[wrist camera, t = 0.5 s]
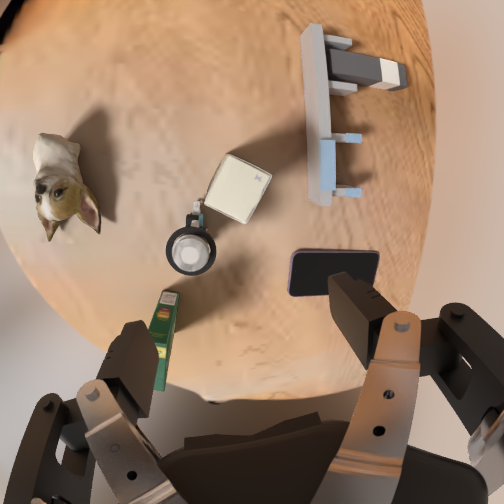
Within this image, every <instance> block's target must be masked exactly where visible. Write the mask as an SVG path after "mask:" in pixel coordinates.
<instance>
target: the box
mask: <svg viewBox="0 0 504 504" xmlns="http://www.w3.org/2000/svg"><path fill="white" fill-rule="evenodd" d="M271 178H272V175H271V174H270V173H268V172H266V171H264V170H262V169H261V168H259V167H257V166H255V165H253V164H251V163H249V162H247V161H244V160H242V159H240V158H238V157H236V156H233V155H231V154H228V153H226V154H225V155H224V157H223V159H222V160H221V162H220V164H219V166H218V168H217V169H216V171H215V173H214V175H213V178H212V180H211V182H210V184H209V187H208V190H207V195H206V200H205V202H204V204H205V205H207V206H209V207H211V208H213V209H214V210H216V211H218V212H220V213H222V214H224V215H226V216H228V217H230V218H232V219H234V220H236V221H239V222H241V223H243V224H246V223H247V222H248V221H249V219H250V217H251V216H252V214H253V212H254V210H255V208H256V207H257V205H258V203H259V201H260V199H261V198H262V196H263V194H264V192H265V190H266V188H267V186H268V184H269V182H270V180H271Z"/></svg>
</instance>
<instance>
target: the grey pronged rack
mask: <svg viewBox="0 0 504 504" xmlns="http://www.w3.org/2000/svg"><path fill="white" fill-rule="evenodd" d="M300 45H301V56H302V68H303V81H304V96H305V113H306V135H307V168H308V200H310V201H312V202H314V203H316V204H318V205H319V206H332V196H346V197H348V198H350V197H362V188H357V187H354V186H350V185H336V152H335V143H362V134H354V133H346V134H338V133H331V118H330V101H329V95H338V96H346V95H349V94H352V93H354V92H357V84H352V83H345V82H337V81H329V80H328V75H327V64H326V54H325V51H328V50H330V49H336V50H342V51H345V50H346V49H347V48H349V47H350V46H352V40H351V39H349V38H344V37H338V36H332V35H326V34H323V29H322V25H320V24H313V23H310V24H309V26H308V27H307V28H306V29H305V31H304V32H303V33H302V34H301V36H300Z"/></svg>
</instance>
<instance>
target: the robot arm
mask: <svg viewBox="0 0 504 504" xmlns="http://www.w3.org/2000/svg"><path fill="white" fill-rule="evenodd" d="M328 290H329V302H330V310H331V314H332V317H333V320H334V321H335V323H336V324H337V326H338V327H339V329H340V331H341V332H342V334H343V335H344V337H345V338H346V340H347V341H348V343H349V344H350V346H351V348H352V349H353V351H354V352H355V354H356V355H357V357H358V358H359V360H360V362H361V363H362V365H363V366H364V368H365V370H368V371H367V374H366V378H365V381H364V384H363V387H362V391H361V393H360V396H359V399H358V402H357V405H356V408H355V411H354V413H353V416H352V419H351V421H350V422H348V421H343V420H320V417H319V415H318V412H314V413H311V414H308V415H304V416H301V417H297V418H293V419H290V420H285V421H283V422H281V423H279V424H277V425H274V426H273V427H270V428H268V429H266V430H263V431H261V432H259V433H256V434H254V435H250V436H240V435H220V434H214V435H206V436H198V437H187V438H185V440H184V447H183V448H180V449H178V450H175V451H173V452H171V453H170V454H168V455H166V456H165V457H162V456H161V455H160V453H159V452H158V451H157V450H156V448H155V447H154V446H153V444H152V443H151V442H150V440H149V439H148V438H147V436H146V435H145V434H144V432H143V431H142V430H141V428H140V427H139V426H138V425H137V419H138V418H148V417H149V411H150V405H151V399H152V394H153V389H154V384H155V378H156V373H157V368H158V364H159V353H158V350H157V347H156V345H155V343H154V341H153V339H152V337H151V335H150V333H149V331H148V329H147V327H146V325H145V323H144V322H143V321H142V320H139V321H134V322H128V323H126V324H125V325H124V327H123V330H122V332H121V334H120V335H119V336H117V337H116V338H115V340H114V341H113V342H112V343H111V345H110V347H109V349H108V353H107V354H106V356H105V359H104V361H103V363H102V365H101V368H100V370H99V373H98V375H97V378H96V380H92V381H89V382H87V383H85V384H84V385H83V386H82V387H81V388H80V389H79V391H78V393H77V396H76V398H74V399H71V400H68V401H63V400H62V399H61V398H60V397H59V395H57V394H55V393H50V394H47V395H45V396H44V397H42V398H41V399H40V400H39V401H38V403H37V405H36V406H35V409H34V411H33V414H32V416H31V418H30V421H29V423H28V426H27V428H26V431H25V433H24V436H23V439H22V441H21V444H20V447H19V450H18V453H17V456H16V459H15V462H14V465H13V468H12V472H11V475H10V479H9V482H8V486H7V490H6V494H5V498H4V503H3V504H90V497H91V489H92V481H93V475H94V468H95V462H96V461H97V464H98V466H99V468H100V469H101V472H102V473H103V475H104V477H105V479H106V481H107V483H108V485H109V486H110V488H111V490H112V492H113V493H114V495H115V497H116V498H117V500H118V502H119V503H118V504H488V496H489V495H491V494H492V493H493V492H494V491H496V490H497V489H498V488H499V487H501V486H502V485H503V484H504V338H502V337H501V335H499V334H498V333H497V332H496V331H495V330H494V329H493V328H492V327H491V326H490V325H489V324H488V323H487V322H486V321H484V320H483V319H482V318H481V317H480V316H479V315H478V314H477V313H476V312H474V311H473V310H472V309H471V308H470V307H468V306H467V305H465V304H462V303H449V304H446V305H444V306H443V307H442V308H441V311H440V316H439V318H432V319H426V320H420V319H419V318H418V316H417V315H415V314H413V313H411V312H407V311H397V310H396V309H395V308H394V307H393V306H392V305H391V304H390V303H389V302H388V301H387V300H386V299H385V298H384V297H383V296H381V294H380V293H379V292H378V291H376V290H375V288H374V287H373V286H371V285H370V284H369V283H367V282H365V281H362V280H360V279H358V280H354V279H353V278H352V277H351V276H350V275H349V274H348V273H347V272H341V273H338V274H334V275H331V276H328ZM462 356H463V357H464V358H465V359H466V361H467V362H468V363H469V364H470V365H471V368H472V369H471V368H470V367H469V366H468V365H467V363H466V362H465V361H464V360H463V359H462ZM427 375H430V376H431V377H432V378H433V380H434V381H435V382H436V384H437V385H438V387H439V389H440V390H441V391H442V393H443V394H444V396H445V397H446V398H447V400H448V402H449V403H450V405H451V406H452V408H453V409H454V411H455V412H456V414H457V415H458V417H459V418H460V420H461V421H462V423H463V425H464V426H465V428H466V429H467V431H468V433H469V434H470V436H471V437H470V439H469V442H468V452H469V459H470V461H471V465H469V464H466V463H463V462H460V461H456V460H453V459H449V458H446V457H442V456H440V455H436V454H433V453H430V452H427V451H425V450H422V449H419V448H416V447H413V446H410V445H408V444H407V443H408V439H409V434H410V429H411V425H412V419H413V414H414V409H415V403H416V397H417V390H418V382H419V377H422V376H427ZM59 438H60V439H61V440H62V441H63V442H64V443H65V444H66V448H65V451H64V455H63V460H62V464H61V465H60V464H59V463H58V461H57V459H56V456H55V452H56V448H57V444H58V441H59Z"/></svg>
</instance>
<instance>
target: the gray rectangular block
mask: <svg viewBox="0 0 504 504" xmlns="http://www.w3.org/2000/svg"><path fill="white" fill-rule="evenodd" d="M325 54H326V64H327V75H328V80H329V81H337V82H345V83H352V84H358V85H364V86H369V87H373V88H379V89H384V90H390V91H395V90H399V89H403V88H407V87H408V86H407V78H406V70H405V65H402V64H399V63H397V62H393V61H390V60H386V59H382V58H376V57H372V56H367V55H362V54H358V53H353V52H347V51H342V50H336V49H330V50H328V51H327V52H326V53H325Z"/></svg>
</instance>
